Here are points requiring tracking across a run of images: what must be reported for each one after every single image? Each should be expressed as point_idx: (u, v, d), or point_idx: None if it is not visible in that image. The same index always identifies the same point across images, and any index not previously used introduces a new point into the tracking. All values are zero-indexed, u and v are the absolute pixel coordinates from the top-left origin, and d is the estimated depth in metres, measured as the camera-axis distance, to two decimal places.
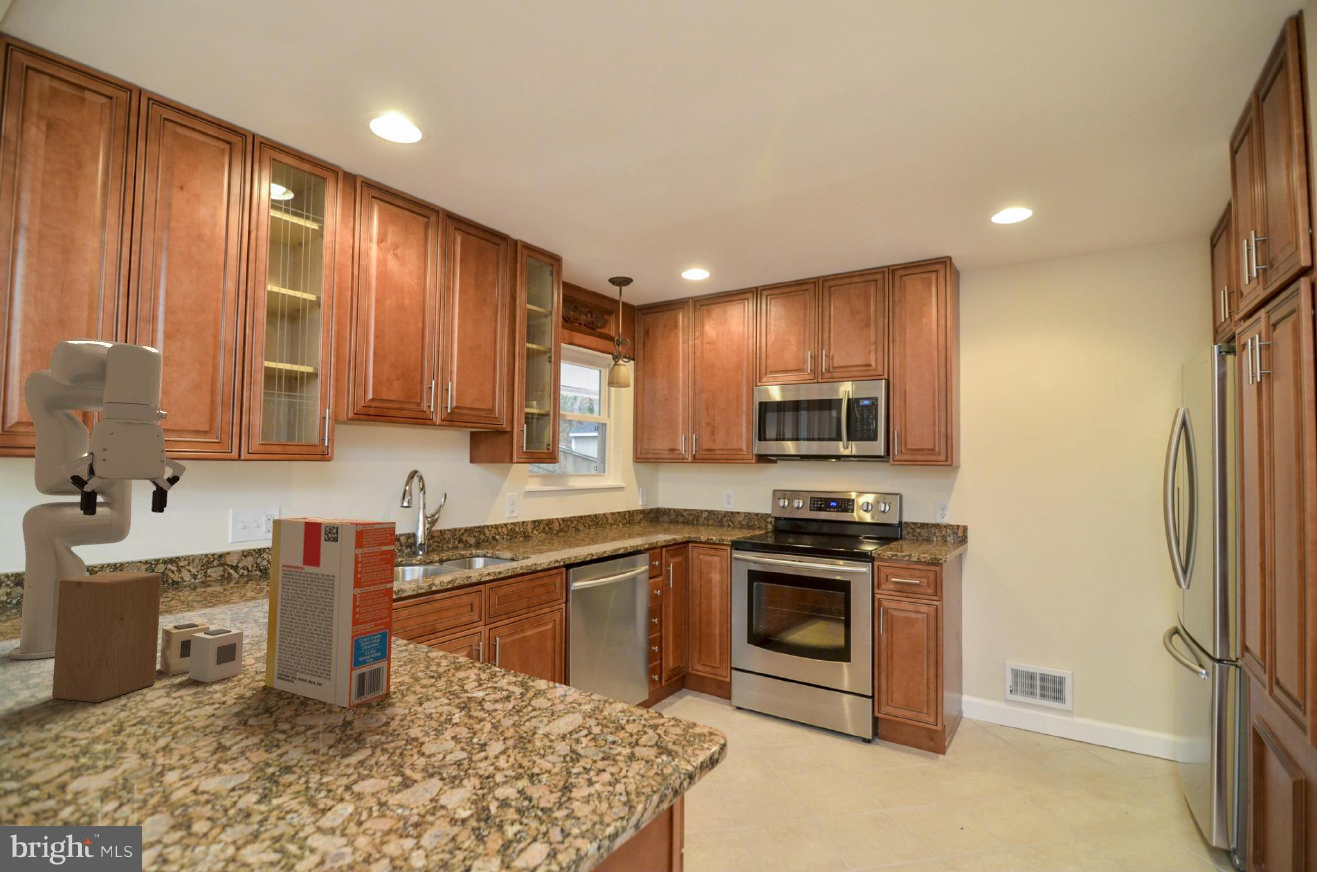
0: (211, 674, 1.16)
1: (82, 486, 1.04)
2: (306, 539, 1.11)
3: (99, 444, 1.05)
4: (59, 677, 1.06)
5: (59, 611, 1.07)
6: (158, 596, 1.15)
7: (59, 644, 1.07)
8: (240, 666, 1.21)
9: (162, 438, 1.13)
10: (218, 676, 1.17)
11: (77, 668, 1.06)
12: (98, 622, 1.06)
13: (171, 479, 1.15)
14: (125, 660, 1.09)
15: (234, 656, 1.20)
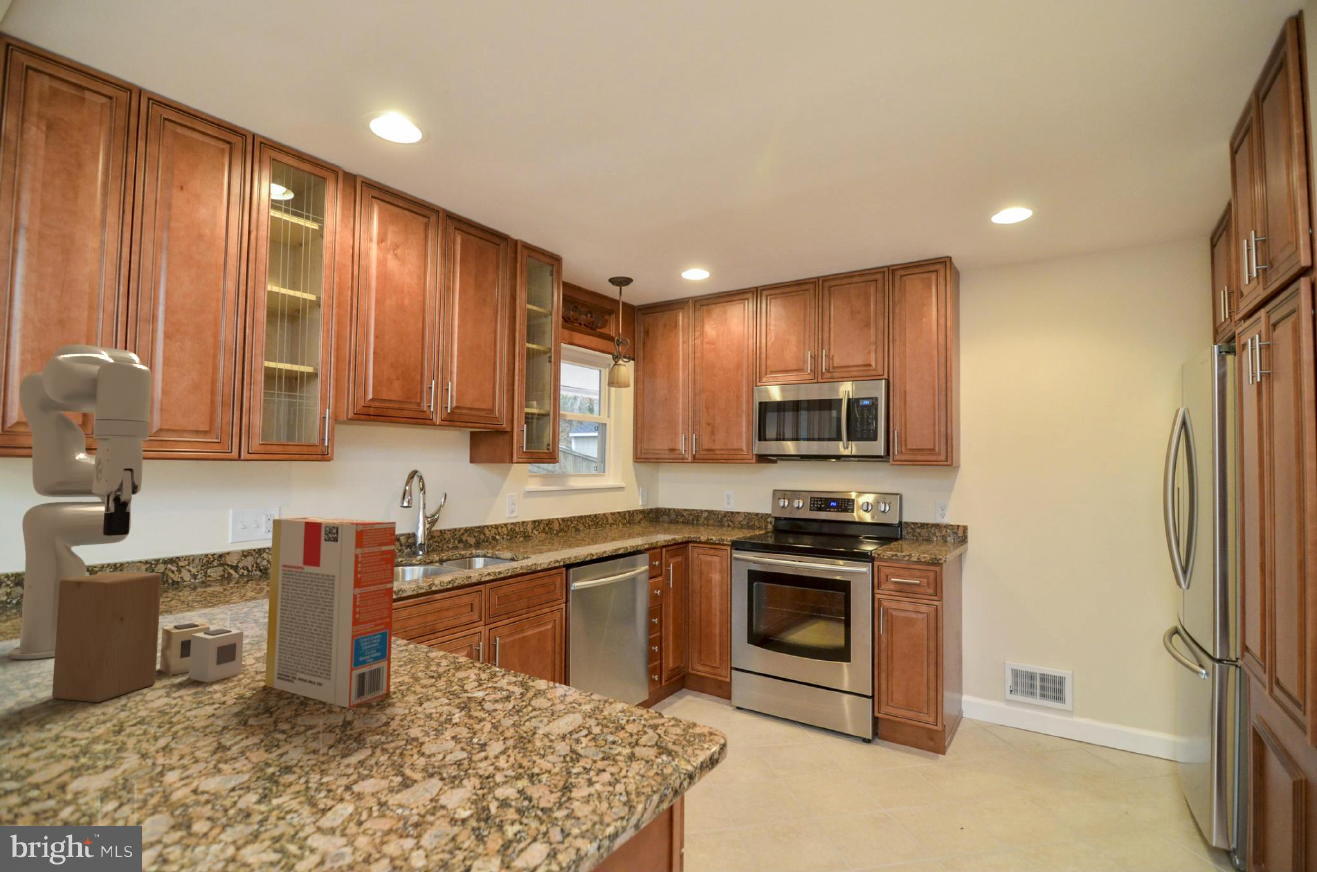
0: (211, 674, 1.16)
1: (126, 511, 1.12)
2: (306, 539, 1.11)
3: (140, 461, 1.11)
4: (59, 677, 1.06)
5: (59, 611, 1.07)
6: (158, 596, 1.15)
7: (59, 644, 1.07)
8: (240, 666, 1.21)
9: None
10: (218, 676, 1.17)
11: (77, 668, 1.06)
12: (98, 622, 1.06)
13: None
14: (125, 660, 1.09)
15: (234, 656, 1.20)
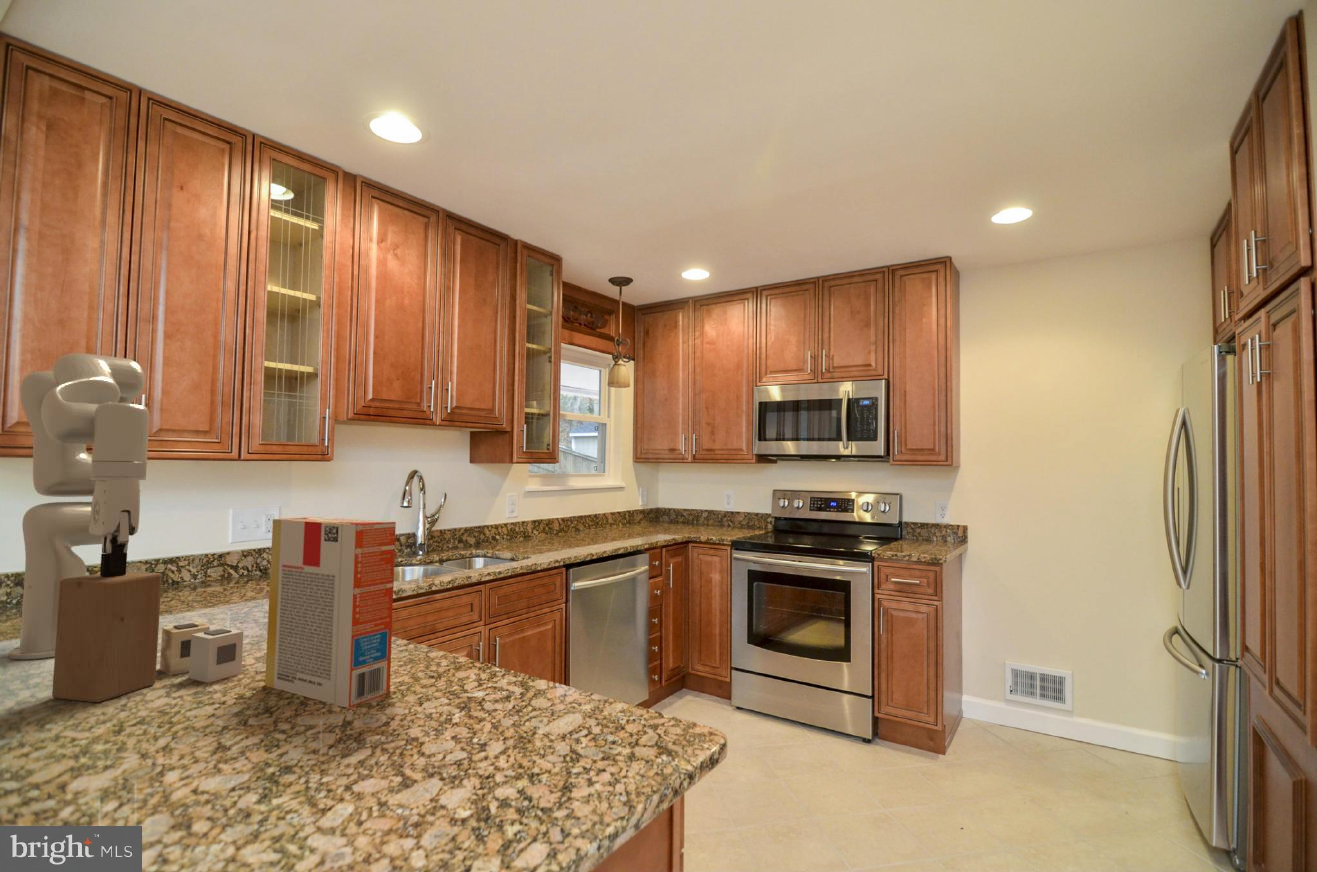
0: (211, 674, 1.16)
1: (123, 552, 1.11)
2: (306, 539, 1.11)
3: (137, 502, 1.11)
4: (59, 677, 1.06)
5: (59, 611, 1.07)
6: (158, 596, 1.15)
7: (59, 644, 1.07)
8: (240, 666, 1.21)
9: None
10: (218, 676, 1.17)
11: (77, 668, 1.06)
12: (98, 622, 1.06)
13: None
14: (125, 660, 1.09)
15: (234, 656, 1.20)
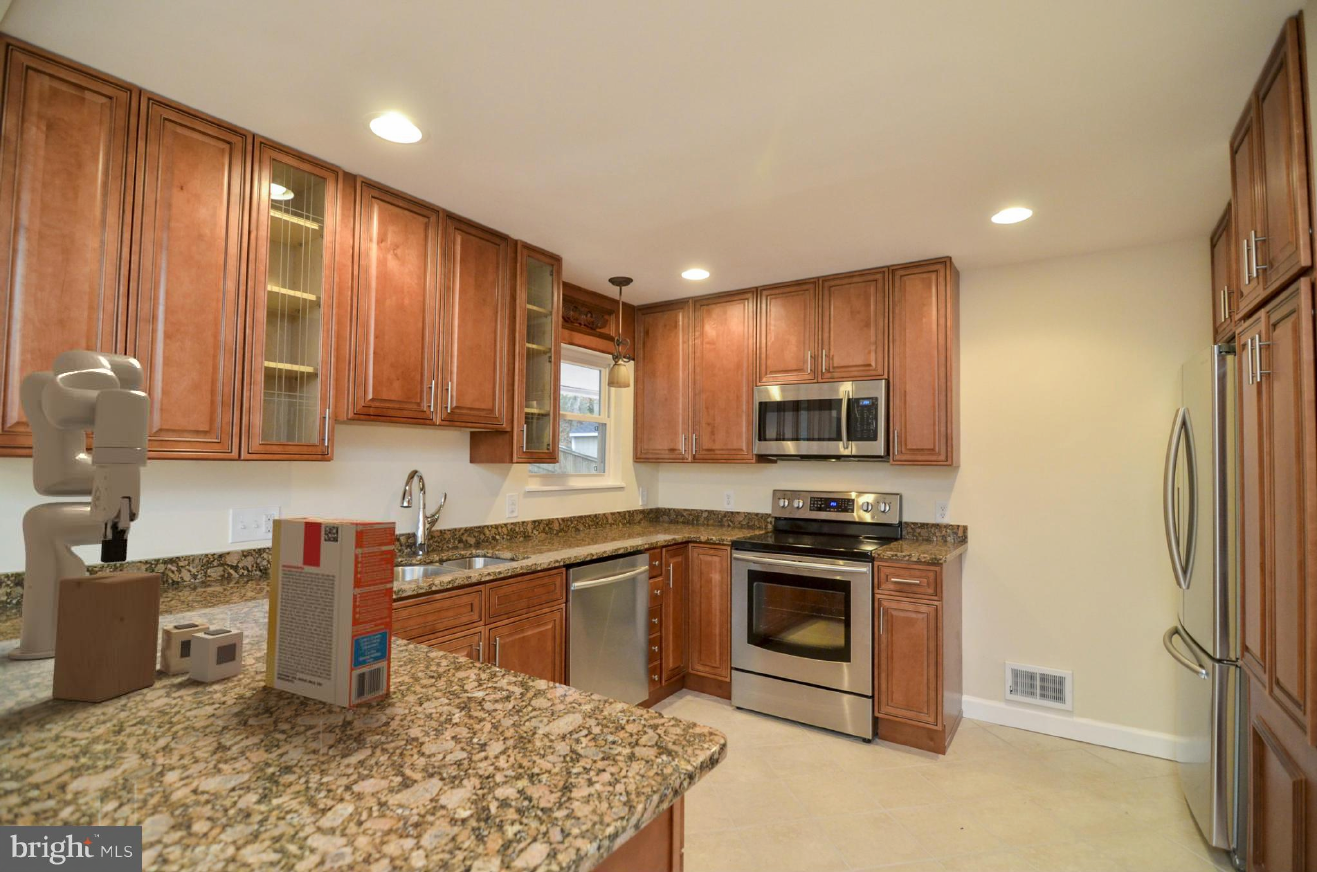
0: (211, 674, 1.16)
1: (123, 538, 1.12)
2: (306, 539, 1.11)
3: (138, 488, 1.11)
4: (59, 677, 1.06)
5: (59, 611, 1.07)
6: (158, 596, 1.15)
7: (59, 644, 1.07)
8: (240, 666, 1.21)
9: None
10: (218, 676, 1.17)
11: (77, 668, 1.06)
12: (98, 622, 1.06)
13: None
14: (125, 660, 1.09)
15: (234, 656, 1.20)
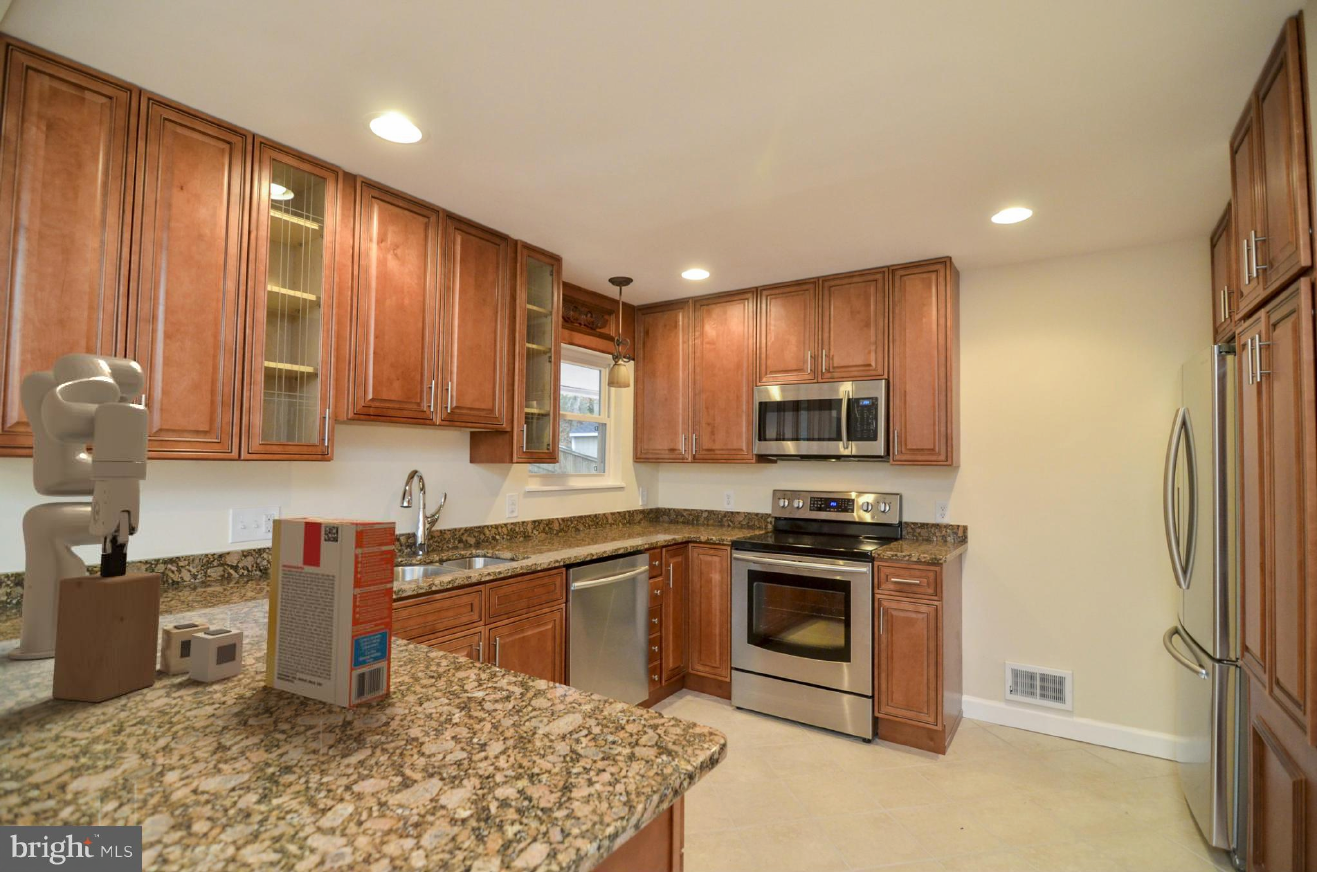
0: (211, 674, 1.16)
1: (123, 552, 1.11)
2: (306, 539, 1.11)
3: (137, 502, 1.11)
4: (59, 677, 1.06)
5: (59, 611, 1.07)
6: (158, 596, 1.15)
7: (59, 644, 1.07)
8: (240, 666, 1.21)
9: None
10: (218, 676, 1.17)
11: (77, 668, 1.06)
12: (98, 622, 1.06)
13: None
14: (125, 660, 1.09)
15: (234, 656, 1.20)
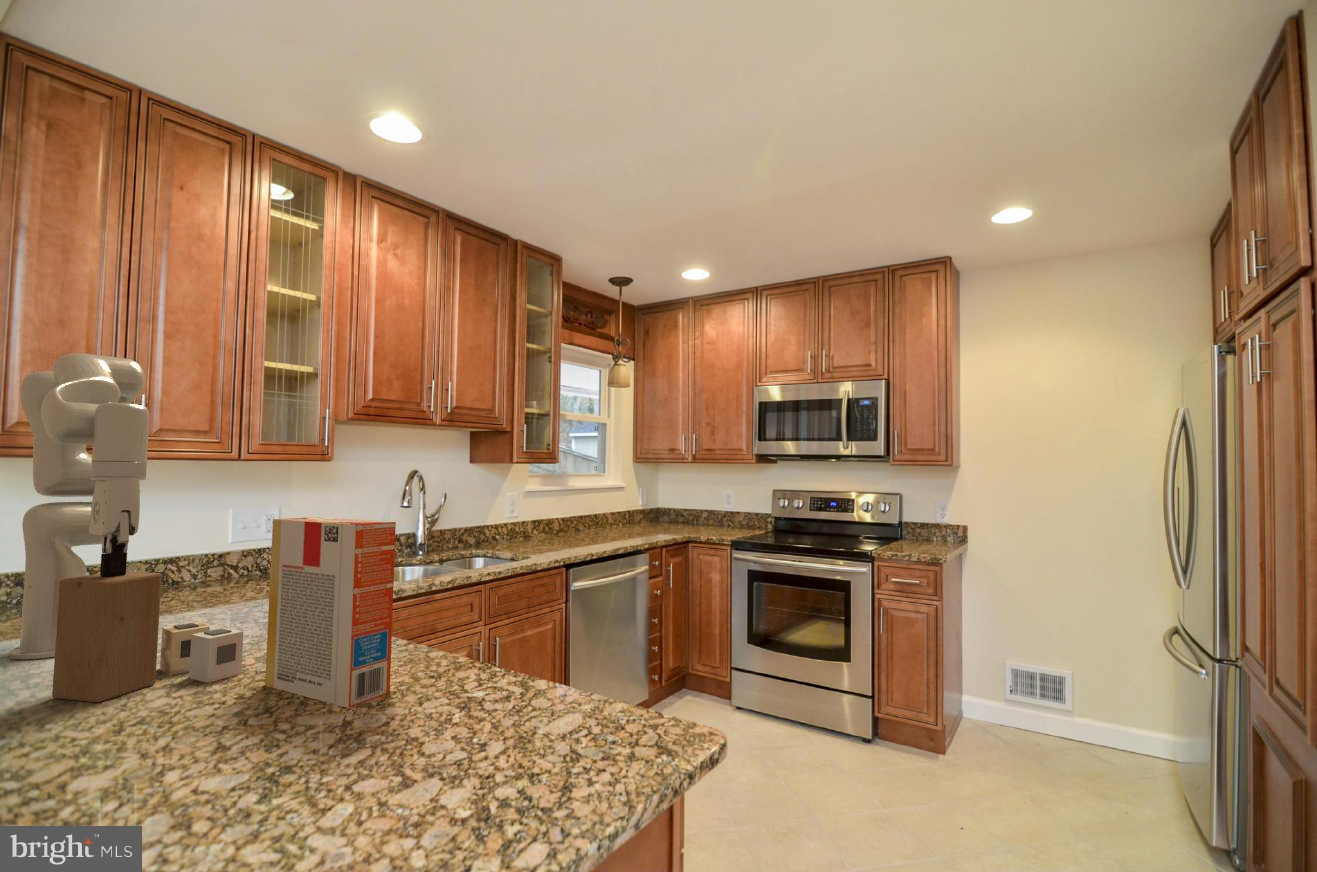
0: (211, 674, 1.16)
1: (123, 552, 1.11)
2: (306, 539, 1.11)
3: (137, 502, 1.11)
4: (59, 677, 1.06)
5: (59, 611, 1.07)
6: (158, 596, 1.15)
7: (59, 644, 1.07)
8: (240, 666, 1.21)
9: None
10: (218, 676, 1.17)
11: (77, 668, 1.06)
12: (98, 622, 1.06)
13: None
14: (125, 660, 1.09)
15: (234, 656, 1.20)
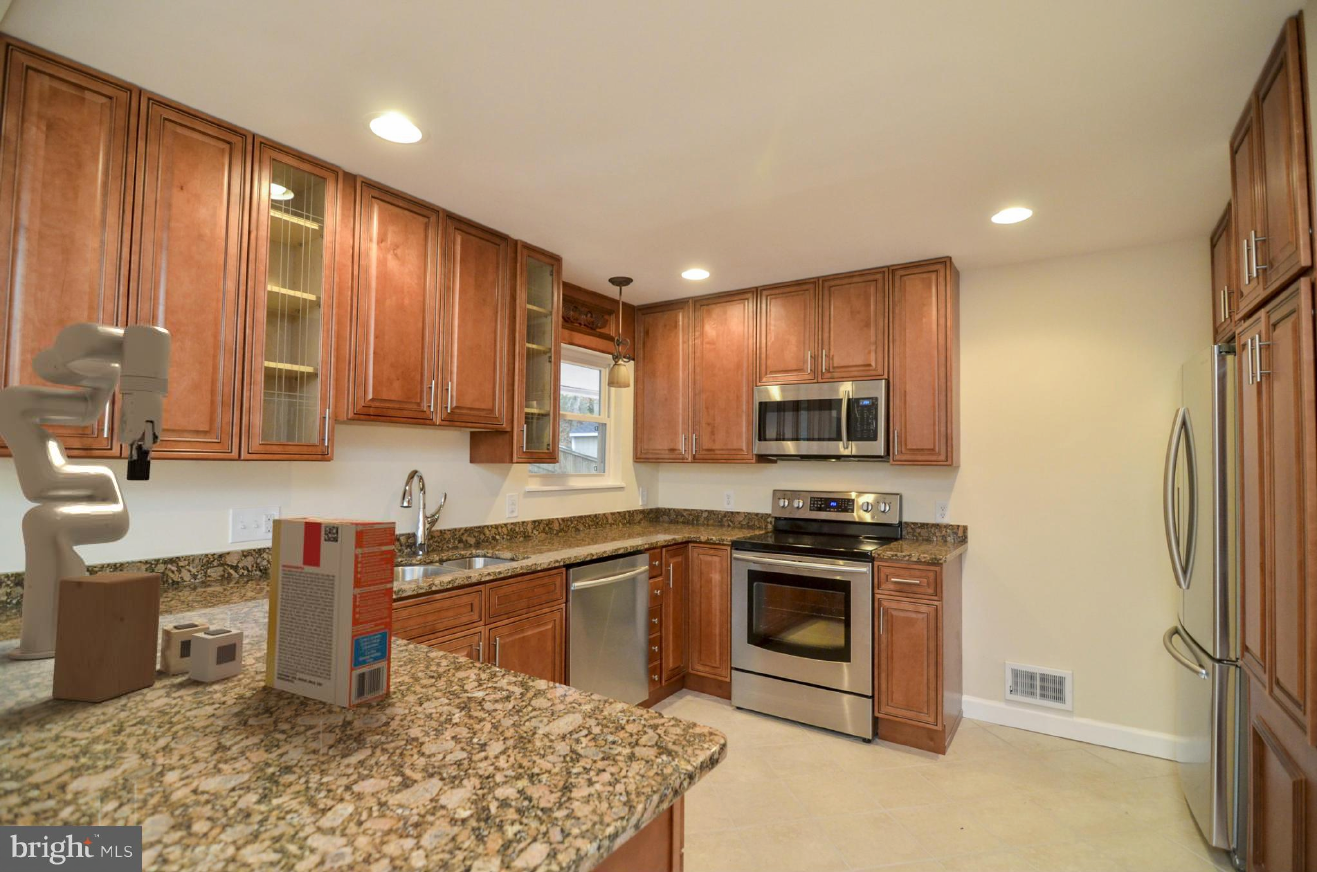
0: (211, 674, 1.16)
1: (147, 459, 1.24)
2: (306, 539, 1.11)
3: (160, 414, 1.24)
4: (59, 677, 1.06)
5: (59, 611, 1.07)
6: (158, 596, 1.15)
7: (59, 644, 1.07)
8: (240, 666, 1.21)
9: None
10: (218, 676, 1.17)
11: (77, 668, 1.06)
12: (98, 622, 1.06)
13: None
14: (125, 660, 1.09)
15: (234, 656, 1.20)
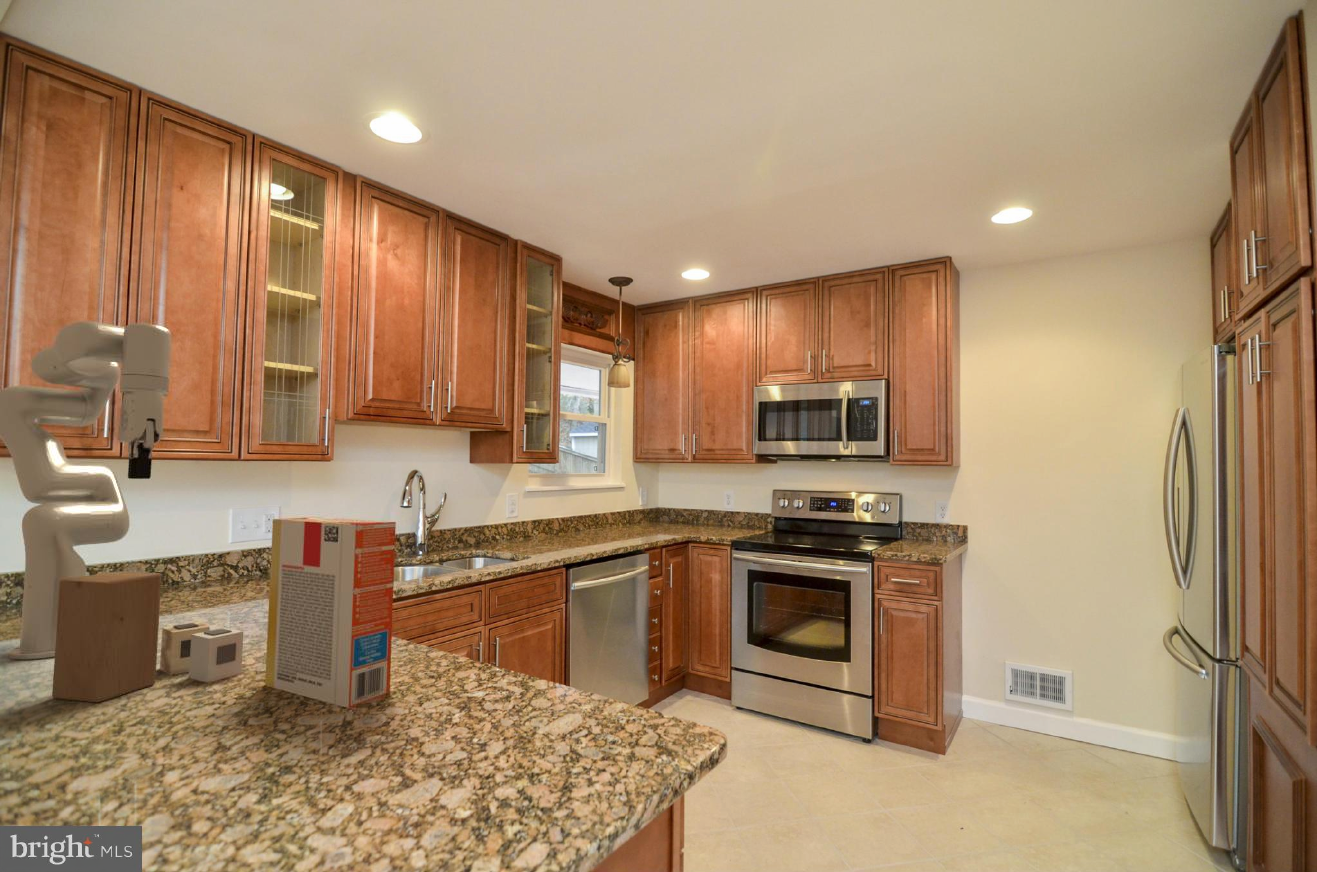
0: (211, 674, 1.16)
1: (148, 457, 1.25)
2: (306, 539, 1.11)
3: (161, 412, 1.24)
4: (59, 677, 1.06)
5: (59, 611, 1.07)
6: (158, 596, 1.15)
7: (59, 644, 1.07)
8: (240, 666, 1.21)
9: None
10: (218, 676, 1.17)
11: (77, 668, 1.06)
12: (98, 622, 1.06)
13: None
14: (125, 660, 1.09)
15: (234, 656, 1.20)
